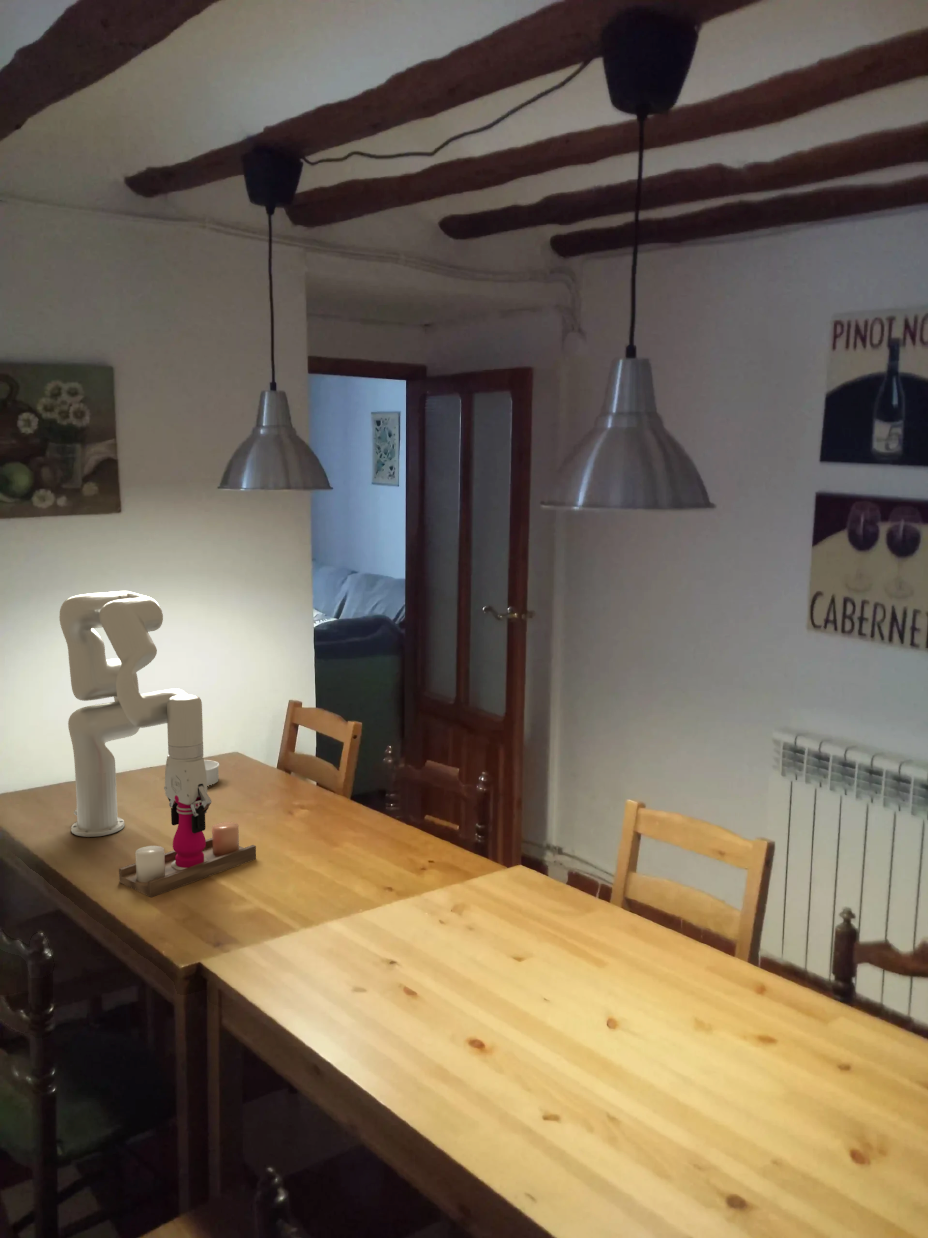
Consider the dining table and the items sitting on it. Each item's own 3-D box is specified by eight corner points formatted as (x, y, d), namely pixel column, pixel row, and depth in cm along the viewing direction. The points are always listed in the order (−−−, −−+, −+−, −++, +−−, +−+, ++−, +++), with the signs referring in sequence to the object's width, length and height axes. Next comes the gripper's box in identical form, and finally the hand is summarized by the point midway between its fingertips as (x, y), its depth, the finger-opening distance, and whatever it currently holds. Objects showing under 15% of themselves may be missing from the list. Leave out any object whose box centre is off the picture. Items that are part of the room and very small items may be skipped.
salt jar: (131, 877, 217) (129, 851, 217) (155, 869, 222) (154, 843, 221) (146, 885, 214) (145, 858, 213) (170, 876, 218) (169, 850, 217)
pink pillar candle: (207, 851, 233) (206, 827, 232) (228, 844, 237) (227, 820, 236) (223, 858, 229) (222, 833, 228) (244, 850, 234) (243, 826, 233)
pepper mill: (187, 871, 221) (184, 784, 218) (166, 863, 225) (163, 777, 222) (213, 861, 226) (210, 776, 223) (192, 854, 231) (190, 770, 228)
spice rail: (119, 882, 219) (118, 868, 218) (224, 846, 240) (223, 834, 240) (151, 897, 211) (150, 883, 211) (256, 859, 233) (255, 846, 232)
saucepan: (201, 768, 304) (201, 751, 303) (226, 785, 287) (225, 767, 287) (164, 774, 297) (163, 756, 297) (186, 792, 281) (186, 773, 280)
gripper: (148, 747, 224) (151, 823, 227) (195, 761, 213) (197, 841, 216) (177, 740, 230) (179, 814, 233) (224, 754, 219) (226, 832, 222)
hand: (188, 827), depth 224 cm, fingers open, 7 cm apart
